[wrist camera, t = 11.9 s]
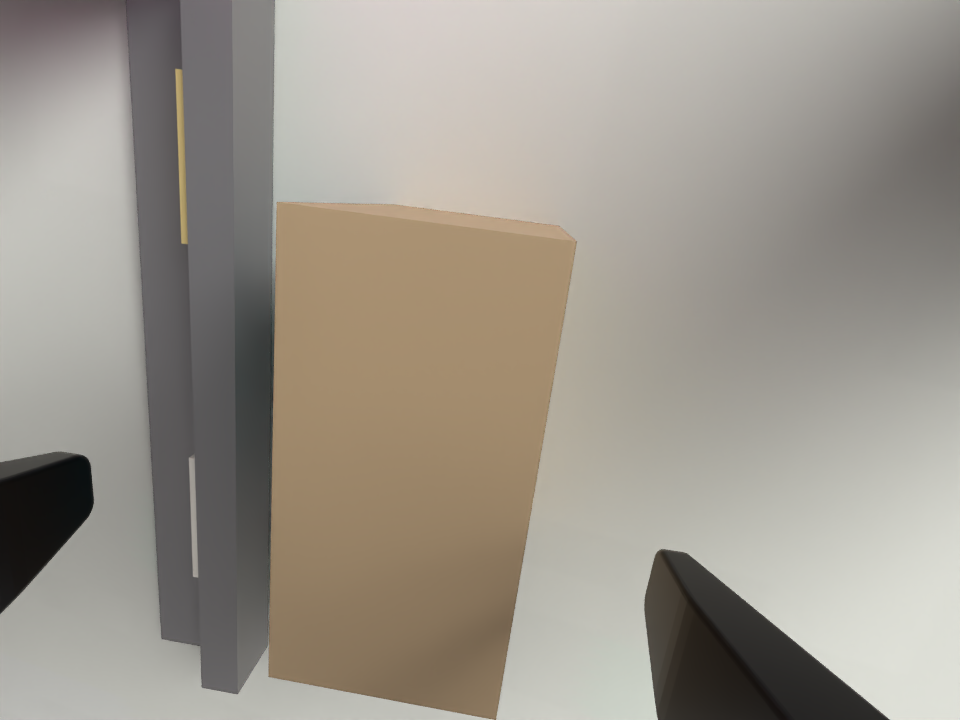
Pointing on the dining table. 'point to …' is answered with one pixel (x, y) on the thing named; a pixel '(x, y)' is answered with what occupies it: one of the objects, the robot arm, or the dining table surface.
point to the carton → (407, 444)
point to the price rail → (207, 314)
